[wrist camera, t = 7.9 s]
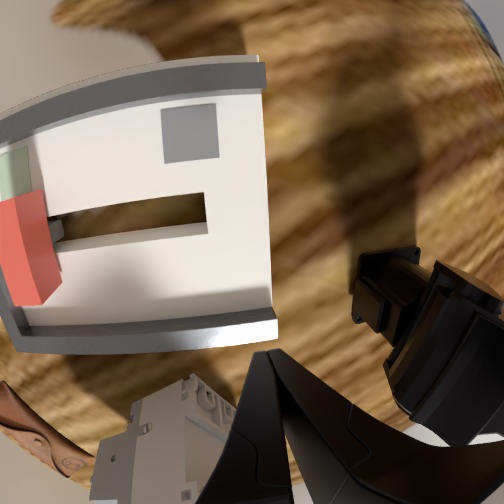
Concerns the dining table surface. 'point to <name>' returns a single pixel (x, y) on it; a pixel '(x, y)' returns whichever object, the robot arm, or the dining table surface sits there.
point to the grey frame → (143, 332)
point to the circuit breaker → (164, 447)
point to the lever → (29, 249)
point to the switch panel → (147, 187)
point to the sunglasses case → (39, 435)
